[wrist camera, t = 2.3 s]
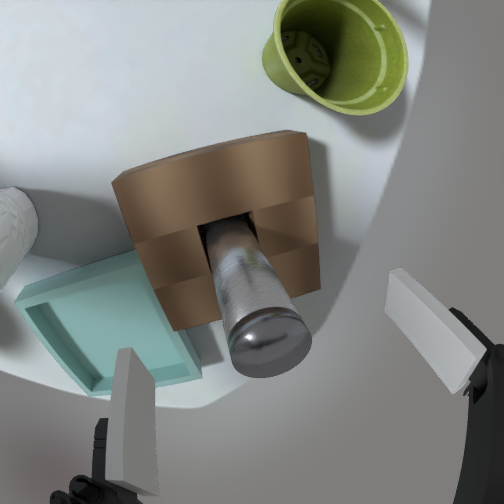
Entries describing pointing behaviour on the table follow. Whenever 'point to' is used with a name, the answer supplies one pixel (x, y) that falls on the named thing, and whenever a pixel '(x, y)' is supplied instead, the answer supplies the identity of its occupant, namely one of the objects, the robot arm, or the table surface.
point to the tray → (107, 324)
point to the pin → (253, 303)
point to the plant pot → (338, 54)
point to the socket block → (221, 217)
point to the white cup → (15, 230)
